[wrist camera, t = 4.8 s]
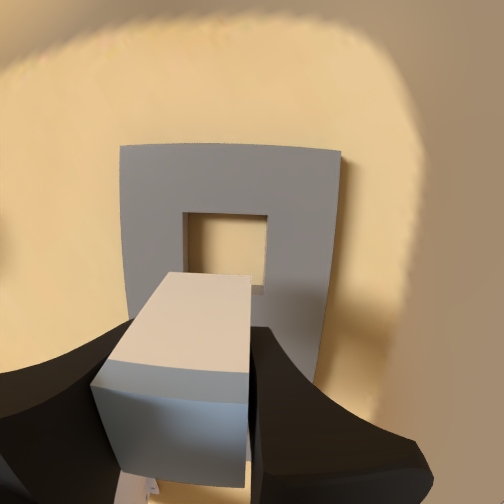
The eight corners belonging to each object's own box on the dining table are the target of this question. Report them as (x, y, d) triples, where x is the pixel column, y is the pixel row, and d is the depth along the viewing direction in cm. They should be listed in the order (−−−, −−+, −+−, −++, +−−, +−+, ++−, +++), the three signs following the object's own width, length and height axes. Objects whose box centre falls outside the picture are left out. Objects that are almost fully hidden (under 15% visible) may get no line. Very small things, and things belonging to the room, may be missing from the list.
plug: (248, 346, 13) (244, 488, 6) (173, 341, 13) (122, 472, 6) (251, 275, 12) (248, 403, 5) (168, 271, 12) (89, 384, 5)
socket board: (294, 448, 24) (295, 461, 22) (159, 440, 24) (155, 451, 22) (334, 151, 17) (341, 151, 16) (129, 146, 17) (119, 145, 16)
